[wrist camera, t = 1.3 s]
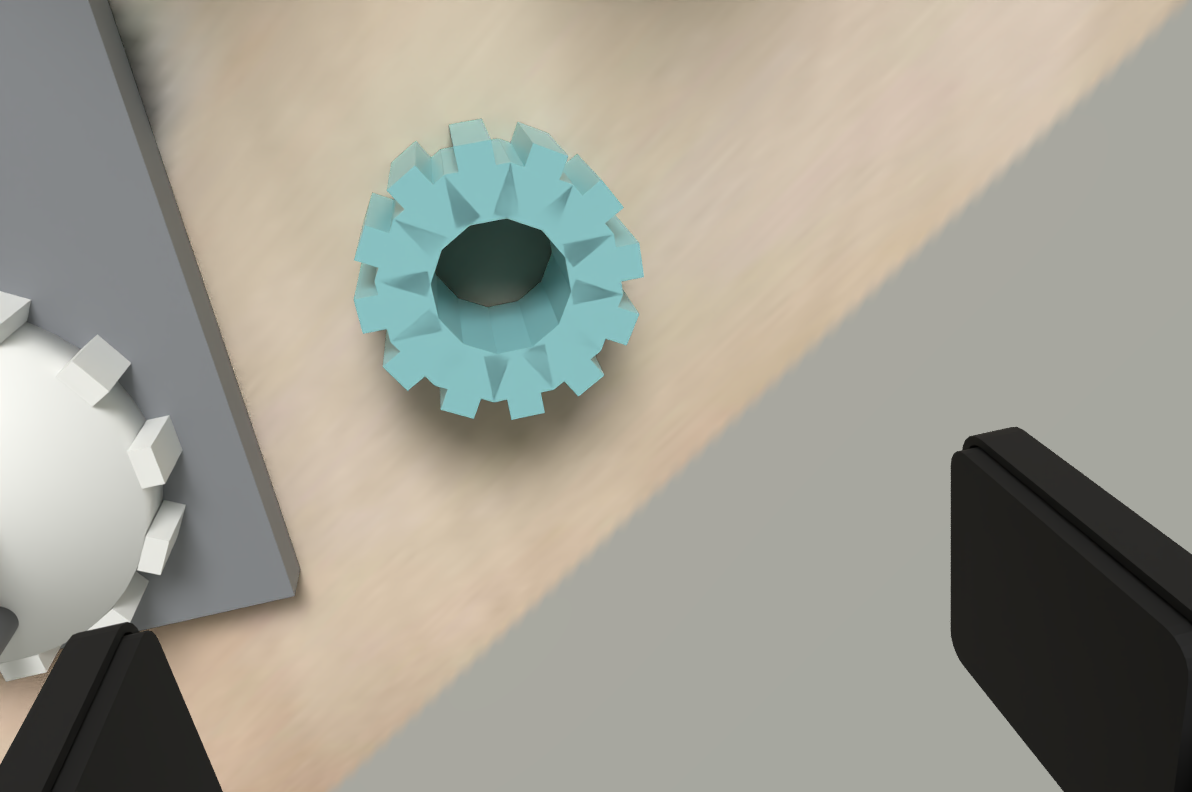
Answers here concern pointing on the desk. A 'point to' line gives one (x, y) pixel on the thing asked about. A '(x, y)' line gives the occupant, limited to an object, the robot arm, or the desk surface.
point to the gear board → (110, 366)
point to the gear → (508, 331)
